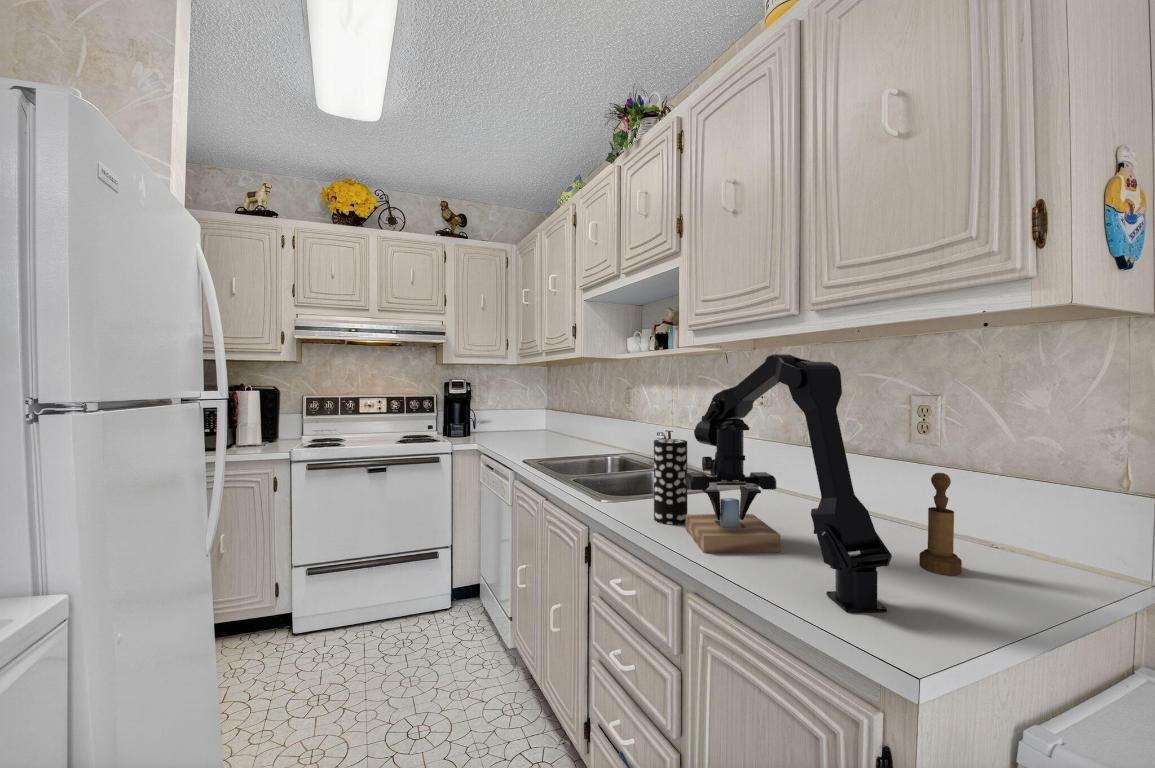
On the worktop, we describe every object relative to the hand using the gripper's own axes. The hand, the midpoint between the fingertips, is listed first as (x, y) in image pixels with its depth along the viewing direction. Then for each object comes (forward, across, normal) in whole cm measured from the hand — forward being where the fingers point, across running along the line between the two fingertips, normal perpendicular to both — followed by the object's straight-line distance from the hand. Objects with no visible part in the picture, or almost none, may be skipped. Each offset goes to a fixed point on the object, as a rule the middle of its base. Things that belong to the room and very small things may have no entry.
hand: (729, 519), depth 113 cm
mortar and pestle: (+5, -34, +18) cm, 39 cm away
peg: (+5, 0, 0) cm, 5 cm away
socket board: (+4, 0, 0) cm, 4 cm away
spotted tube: (+5, +10, -16) cm, 19 cm away
